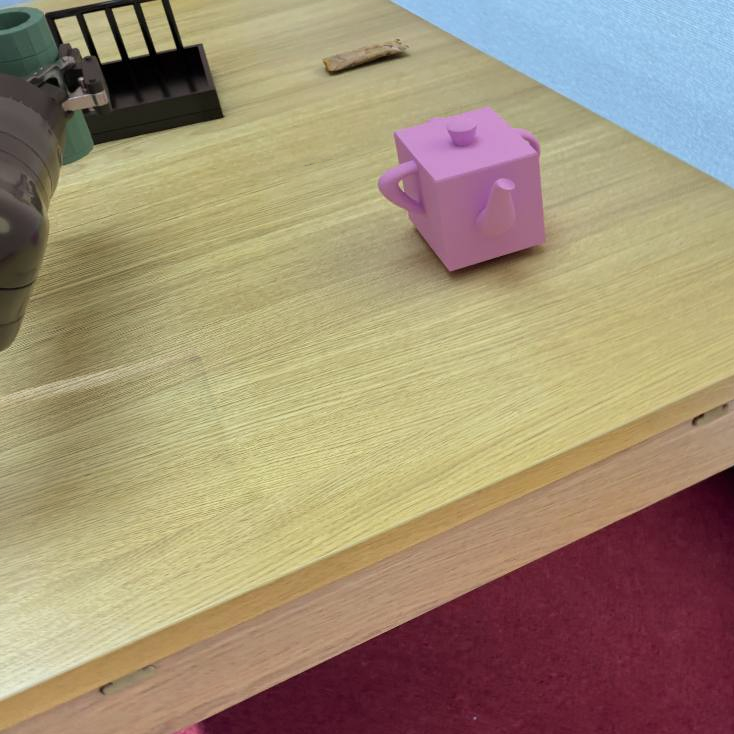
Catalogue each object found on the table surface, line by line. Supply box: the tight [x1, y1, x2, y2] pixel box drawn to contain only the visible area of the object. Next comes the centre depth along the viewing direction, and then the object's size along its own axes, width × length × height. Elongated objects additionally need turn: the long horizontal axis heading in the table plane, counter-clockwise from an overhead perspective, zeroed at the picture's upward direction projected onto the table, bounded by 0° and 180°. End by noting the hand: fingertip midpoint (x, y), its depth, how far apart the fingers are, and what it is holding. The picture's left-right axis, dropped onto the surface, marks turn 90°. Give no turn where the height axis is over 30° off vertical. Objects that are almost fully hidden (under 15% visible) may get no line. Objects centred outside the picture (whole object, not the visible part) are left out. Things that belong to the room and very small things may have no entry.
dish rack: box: [44, 0, 225, 145], centre depth 111 cm, size 17×14×9 cm
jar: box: [0, 6, 95, 167], centre depth 84 cm, size 6×6×10 cm
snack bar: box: [321, 38, 410, 72], centre depth 118 cm, size 10×2×3 cm
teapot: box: [377, 105, 547, 272], centre depth 85 cm, size 18×14×10 cm
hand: (27, 62), depth 85 cm, fingers closed on jar, 6 cm apart
